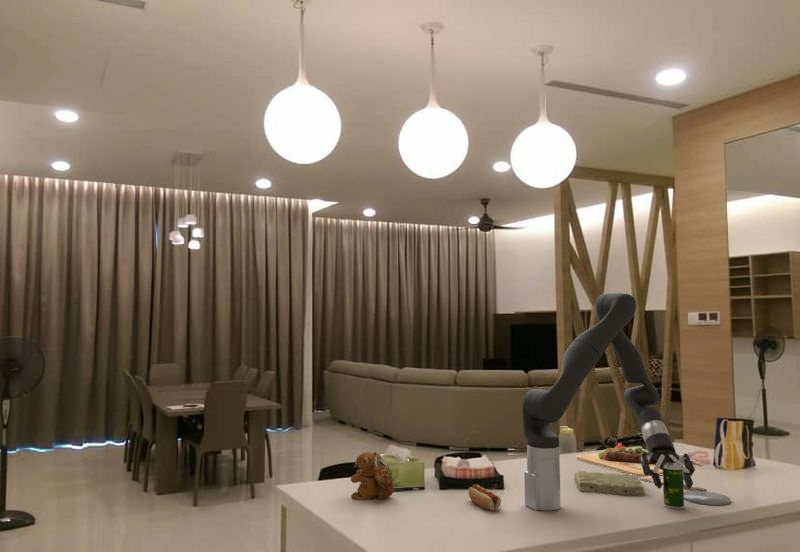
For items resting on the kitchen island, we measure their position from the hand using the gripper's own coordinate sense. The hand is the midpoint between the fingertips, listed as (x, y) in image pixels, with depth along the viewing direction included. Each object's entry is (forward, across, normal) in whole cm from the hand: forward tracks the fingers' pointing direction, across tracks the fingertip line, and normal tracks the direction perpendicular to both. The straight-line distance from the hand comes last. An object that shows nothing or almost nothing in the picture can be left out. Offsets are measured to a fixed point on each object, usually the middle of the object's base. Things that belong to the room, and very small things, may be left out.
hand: (675, 487), depth 181 cm
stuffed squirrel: (-4, -87, +13) cm, 88 cm away
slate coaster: (-2, +13, +10) cm, 17 cm away
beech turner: (-14, +11, +22) cm, 28 cm away
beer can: (+3, 0, +5) cm, 6 cm away
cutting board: (-35, +8, +45) cm, 58 cm away
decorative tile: (-12, -11, +21) cm, 27 cm away
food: (+3, -54, +6) cm, 55 cm away
